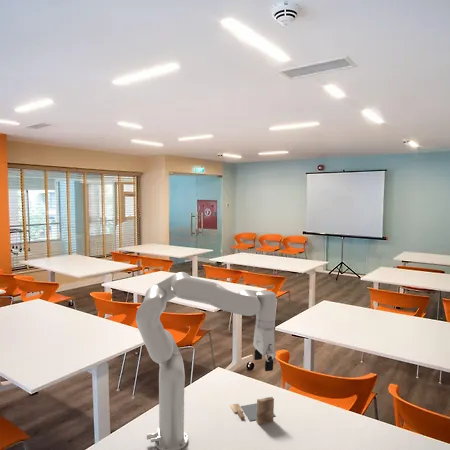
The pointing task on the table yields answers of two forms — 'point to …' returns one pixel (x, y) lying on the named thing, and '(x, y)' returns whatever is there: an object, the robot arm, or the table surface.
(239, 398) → the table surface
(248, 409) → the mat
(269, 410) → the brown wooden block
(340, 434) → the table surface
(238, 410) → the turner
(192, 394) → the table surface
